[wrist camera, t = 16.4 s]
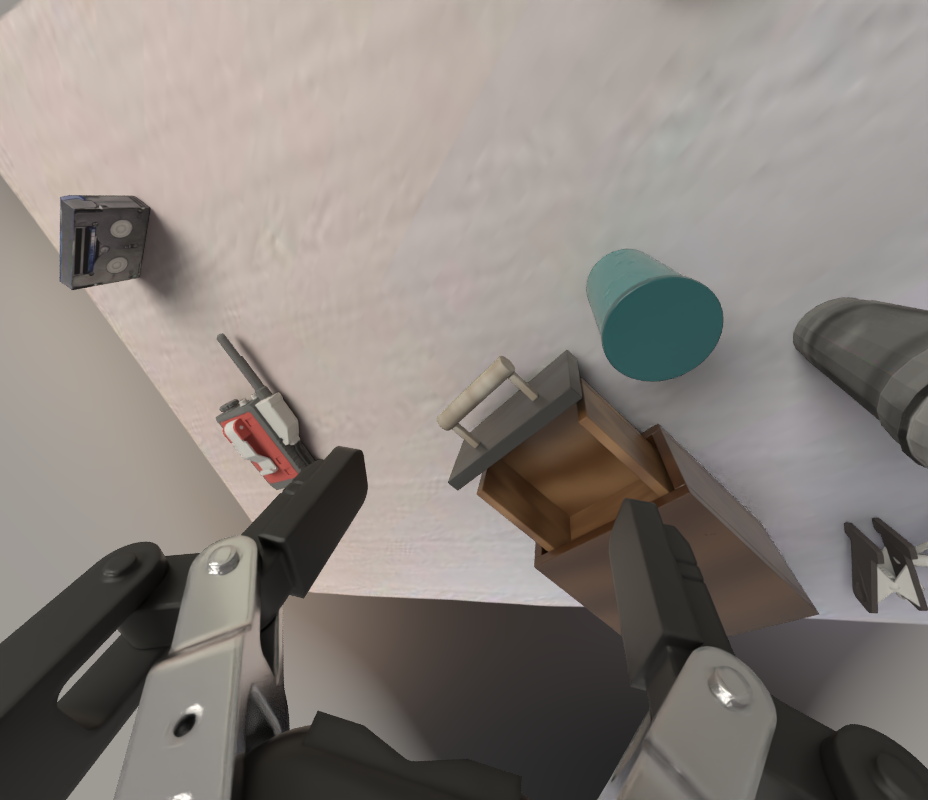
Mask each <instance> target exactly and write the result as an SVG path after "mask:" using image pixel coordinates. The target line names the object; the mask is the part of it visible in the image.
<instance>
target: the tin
mask: <svg viewBox="0 0 928 800" xmlns="http://www.w3.org/2000/svg"><path fill="white" fill-rule="evenodd" d="M586 291H587V297H588V300H589V303H590V306H591V308H592V311H593V314H594V317H595V320H596V323H597V326H598V329H599V332H600V334H601V340H602V346H603V349H604V352H605V355H606V357H607V359H608V360H609V362H610V363H611V364H612V366H613V367H614V368H615V369H617V370H618V371H619V372H621V373H622V374H624V375H626V376H628V377H630V378H633V379H636V380H641V381H663V380H668V379H672V378H675V377H678V376H681V375H683V374H685V373H687V372H689V371H691V370H692V369H694V368H695V367H697V366H698V365H699V364H701V363H702V362H703V361H704V360H705V359H706V358H707V357H708V356H709V355H710V353H711V352H712V351H713V349H714V348H715V346H716V344H717V343H718V341H719V338H720V335H721V333H722V328H723V311H722V308H721V304H720V302H719V300H718V298H717V297H716V296H715V294H714V293H713V292H712V291H711V290H710V289H709V288H708V287H706V286H705V285H703V284H702V283H700V282H698V281H696V280H694V279H692V278H688V277H685V276H683V275H681V274H679V273H677V272H676V271H674V270H672V269H671V268H669V267H667V266H665V265H664V264H662V263H660V262H658V261H657V260H655V259H653V258H652V257H650V256H648V255H646V254H645V253H643V252H641V251H638V250H634V249H622V250H617V251H614V252H612V253H610V254H608V255H606V256H605V257H603V258H602V259H601V260H600V261H598V263H597V264H596V265H595V266H594V267H593V269H592V271H591V272H590V274H589V277H588V280H587V286H586Z"/></svg>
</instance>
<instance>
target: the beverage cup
mask: <svg viewBox="0 0 928 800" xmlns="http://www.w3.org/2000/svg"><path fill="white" fill-rule="evenodd" d="M793 342H794V345H795V347H796V349H797V350H798V351H799V352H800V353H801V354H802V355H804V356H805V357H806V359H807V360H808V361H809V362H810V363H812V364H813V365H814V366H815V367H816V368H817V369H819V370H820V371H821V372H822V373H823V374H825V375H826V376H827V377H828V378H829V379H831V380H832V381H833V382H834V383H835V384H837V385H838V386H839V387H840V388H841V389H842V390H844V391H845V392H846V393H847V394H848V395H850V396H851V397H852V398H853V399H854V400H856V401H857V402H858V403H859V404H860V405H862V406H863V407H864V408H865V409H866V410H868V411H869V412H870V413H871V414H872V415H874V416H875V417H876V418H877V419H878V420H879V421H880V422H881V425H882V426H883V427H884V428H885V430H886V431H887V432H888V433H889V434H890V435H891V436H892V438H893V439H894V440H895V441H896V442H898V443H899V444H900V445H901V448H902V451H903V452H904V453H905V454H906V455H907V456H909V457H910V458H911V459H912V460H913V461H914V462H915V463H917V464H918V465H921V466H923V467H925V468H928V311H927V310H922V309H916V308H911V307H906V306H901V305H895V304H890V303H885V302H879V301H869V300H859V299H856V298H839V299H834V300H830V301H827V302H825V303H823V304H821V305H818V306H816V307H815V308H814V309H812V310H811V311H810V312H808V313H807V314H806V315H805V316H804V317H803V318H802V319H801V320H800V322H799V323H798V325H797V327H796V329H795V331H794V337H793Z"/></svg>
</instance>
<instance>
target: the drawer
mask: <svg viewBox="0 0 928 800" xmlns="http://www.w3.org/2000/svg"><path fill="white" fill-rule="evenodd" d="M507 378H508V379H509V380H510V381H511V382H512V383H513V384H514V385H515V386H517V387H518V388H519V389H520V390H519V391H518V392H517V393H516V394H515V395H513V396H512V397H511V398H510V399H509V400H507V401H506V402H505V403H504V404H503V405H502V406H500V407H499V408H498V409H497V410H496V411H495V412H493V413H492V414H491V415H490V416H489V417H488V418H486V419H485V420H484V421H483V422H482V423H481V424H479V425H478V426H477V427H476V428H475V429H474V430H472V431H471V432H468V431H467V430H466V429H465V428H464V427H462V426H461V425H460V424H459V423H458V422H460V421H461V420H462V419H463V418H464V417H465V416H466V415H467V414H468V413H470V412H471V411H472V410H473V409H474V408H475V407H476V406H477V405H478V404H479V403H481V402H482V401H483V400H484V399H485V398H486V397H487V396H488V395H489V394H491V393H492V392H493V391H494V390H495V389H496V388H497V387H498V386H499V385H501V384H502V383H503V382H504V381H505V380H506V379H507ZM437 422H438V424H439V426H440V427H441V428H442V429H444V430H451V429H452V430H453V431H454V432H456V433H457V434H458V435H459V436H460V437H462V438H463V439H464V441H463V444H462V446H461V449H460V452H459V454H458V457H457V460H456V462H455V465H454V467H453V470H452V473H451V475H450V478H449V481H448V483H449V484H450V485H451V486H453V487H454V488H455V489H456V490H459V489H461V488H462V487H463V486H465V485H466V484H467V483H469V482H470V481H471V480H473V479H474V478H475V477H477V476H478V475H479V474H481V473H482V476H481V479H480V483H479V487H478V491H477V495H478V496H479V497H481V498H482V499H483V500H484V501H486V502H487V503H488V504H489V505H491V506H492V507H493V508H494V509H496V510H497V511H498V512H499V513H501V514H502V515H503V516H504V517H506V518H507V519H508V520H509V521H511V522H512V523H513V524H514V525H515V526H517V527H518V528H519V529H520V530H522V531H523V532H524V533H525V534H527V535H528V536H529V537H530V538H532V539H533V540H534V541H535V542H537V543H538V544H539V545H540V546H542V547H543V548H544V549H545V550H547V551H548V552H549V551H551V550H553V549H556V548H558V547H560V546H562V545H564V544H566V543H568V542H570V541H572V540H574V539H576V538H578V537H580V536H582V535H584V534H586V533H588V532H590V531H592V530H594V529H596V528H598V527H600V526H602V525H604V524H606V523H608V522H610V521H612V520H614V519H616V517H617V515H618V512H619V509H620V507H621V504H622V502H623V500H624V499H625V498H630V499H636V500H642V501H647V502H651V501H653V500H655V499H657V498H659V497H661V496H663V495H665V494H667V493H669V492H671V491H673V490H675V489H674V487H673V484H672V482H671V479H670V477H669V475H668V472H667V470H666V467H665V465H664V463H663V460H662V458H661V455H660V453H659V451H658V450H657V449H656V448H655V447H654V446H653V445H652V444H651V443H650V442H649V441H648V440H647V439H645V438H644V437H643V436H642V435H641V434H640V433H639V432H638V431H637V430H636V429H635V428H634V427H633V426H632V425H631V424H630V423H629V422H628V421H627V420H625V419H624V418H623V417H622V416H621V415H620V414H619V413H618V412H617V411H616V410H615V409H614V408H613V407H612V406H611V405H610V404H609V403H608V402H607V401H605V400H604V399H603V398H602V397H601V396H600V395H599V394H598V393H597V392H596V391H595V390H594V389H593V388H592V387H591V386H590V385H589V384H588V383H587V382H585V381H584V380H583V379H582V378H579V371H578V364H577V358H576V357H575V356H574V355H573V354H572V353H570V352H569V351H568V350H566V351H565V352H564V353H562V354H561V355H560V356H559V357H558V358H557V359H555V360H554V361H553V362H552V363H551V364H550V365H548V366H547V367H546V368H545V369H544V370H543V371H541V372H540V373H539V374H538V375H537V376H536V377H534V378H533V379H532V380H531V381H530V382H529V383H526V382H525V381H524V380H523V379H522V378H521V377H520V376H519V375H518V374H516V373H515V368H514V366H513V364H512V363H511V362H510V361H509V360H508V359H507V358H506V357H504V356H500V357H499V358H498V359H497V360H496V361H495V362H494V363H493V364H492V365H490V366H489V367H488V368H487V369H486V370H485V371H484V372H483V373H482V374H481V375H480V376H479V377H478V378H477V379H476V380H475V381H474V382H473V383H472V384H471V385H470V386H469V387H468V388H467V389H466V390H465V391H464V392H463V393H461V394H460V395H459V396H458V397H457V398H456V399H455V400H454V401H453V402H452V403H451V404H450V405H449V406H448V407H447V408H446V409H445V410H444V411H443V412H442V413H441V414H440V415H439V416H438V417H437Z"/></svg>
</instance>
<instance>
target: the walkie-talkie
mask: <svg viewBox="0 0 928 800" xmlns="http://www.w3.org/2000/svg"><path fill="white" fill-rule="evenodd" d="M217 340H218V342H219V343H220V344H221V346H222V347H223V348H224V350H225V351H226V352H227V354H228V355H229V356H230V357H231V359H232V360H233V361H234V363H235V364H236V365H237V367H238V368H239V369H240V371H241V372H242V373H243V375H244V376H245V377H246V379H247V380H248V381H249V383H250V384H251V385H252V387H253V388H254V389H255V393H254V394H252V395H251V398H252V399H251V400H248V401H247V400H246V399H243V400H241V402H239V401H238V400H237V399H234V400H232V401H230V402H228V403H226V404H225V405H223V406H221V407H220V411H221V412H223V413H222V414H220V415H219V416H217V417H216V420H217V422H218V423H219V424H220V425H221V427H222V428H223V434H224V435H225V437H226V438H227V439H228V440H229V441H230V443H233V444H234V448H235V449H236V450H237V451H238V452H239V454H240V455H241V456H242V457H243V458H244V459H246V460H250V461H251V463H252V464H253V465H254V466H255V467H256V468H257V470H258V471H259V472H260V474H261V476H263V477H264V478H265V479H266V481H267V482H268V483H269V484H270V485H271V486H272V487H273V488H275V489H276V490H279V489H283V488H286V486H287V485H288V484H289V483H292V480H293V479H294V478H295V477H296V476H297V475H298V474H299V473H300V471H301V470H302V469H303V468H305V467H306V466H308V465H310V464H311V463H313V462H315V460H314V459H313V457H312V456H311V455H310V453H309V452H308V451H307V449H306V448H305V447H304V445H303V444H302V443H301V441H300V437H299V436H298V435H299V424H298V420H297V418H296V417H295V416H294V414H293V413H292V411H291V410H290V409H289V407H288V406H287V404H286V403H285V402H284V400H283V397H282V396H281V394H280V393H279V392H278V393H275V394H273V395H272V393H271V392H270V391H269V389H268V388H267V387H266V386H264V385H263V383H262V382H261V381H260V379H259V378H258V377H257V375H256V374H255V372H254V371H253V370H252V368H251V367H250V366H249V364H248V363H247V362H246V360H245V359H244V358H243V356H240V355H239V353H238V352H237V351H236V349H235V348H234V347H233V345H232V344H231V343H230V341H229V340H228V339H227V337H226V336H225V335H224V334H219V335H218V336H217ZM238 403H239V404H238ZM224 411H225V412H224Z"/></svg>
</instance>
